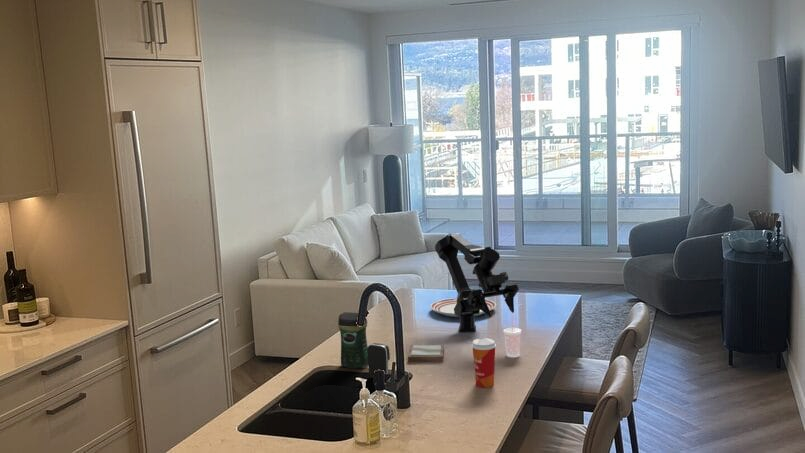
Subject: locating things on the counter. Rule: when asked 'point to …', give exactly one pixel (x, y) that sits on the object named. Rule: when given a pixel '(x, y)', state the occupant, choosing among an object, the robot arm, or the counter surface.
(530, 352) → the counter surface
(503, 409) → the counter surface
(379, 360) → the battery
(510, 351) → the beverage cup
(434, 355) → the plinth
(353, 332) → the coffee jar
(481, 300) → the robot arm
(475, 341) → the paper cup
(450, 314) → the dinner plate
